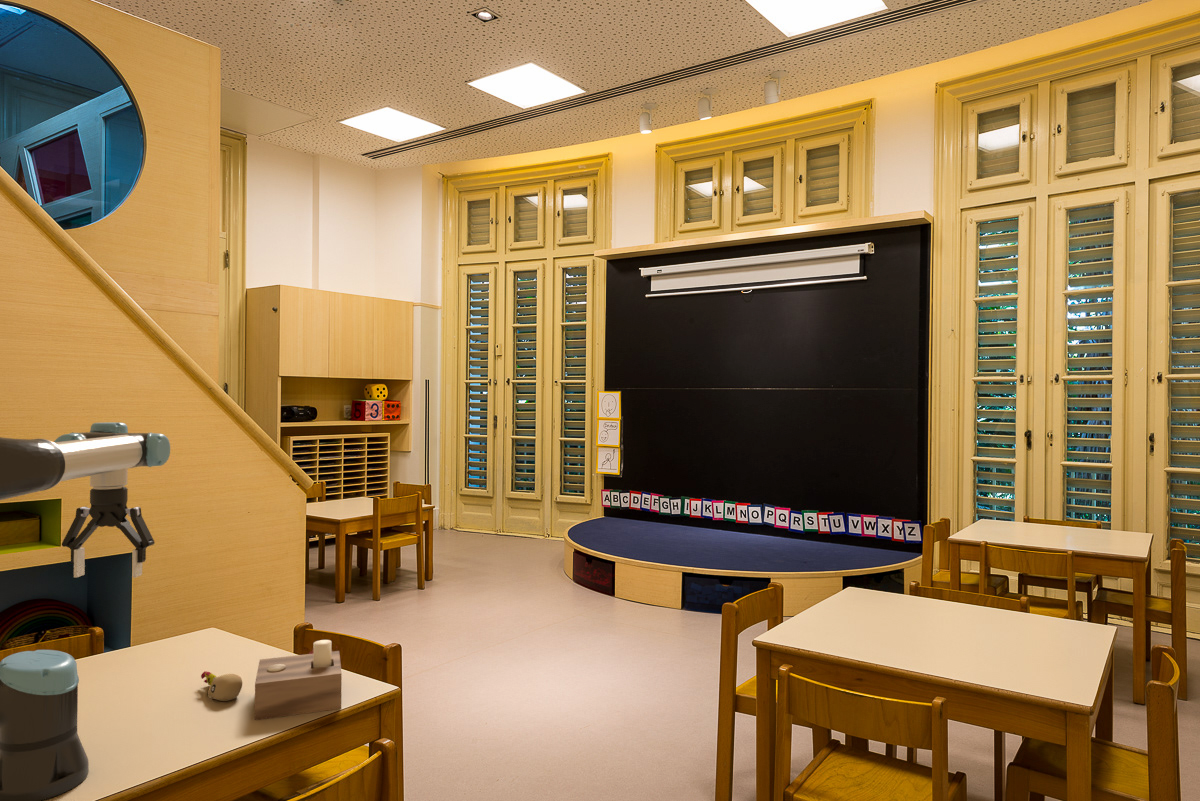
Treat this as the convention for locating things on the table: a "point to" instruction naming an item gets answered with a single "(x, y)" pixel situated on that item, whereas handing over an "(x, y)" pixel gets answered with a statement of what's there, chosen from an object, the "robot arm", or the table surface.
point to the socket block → (296, 686)
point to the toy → (223, 686)
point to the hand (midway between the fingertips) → (108, 576)
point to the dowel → (322, 653)
